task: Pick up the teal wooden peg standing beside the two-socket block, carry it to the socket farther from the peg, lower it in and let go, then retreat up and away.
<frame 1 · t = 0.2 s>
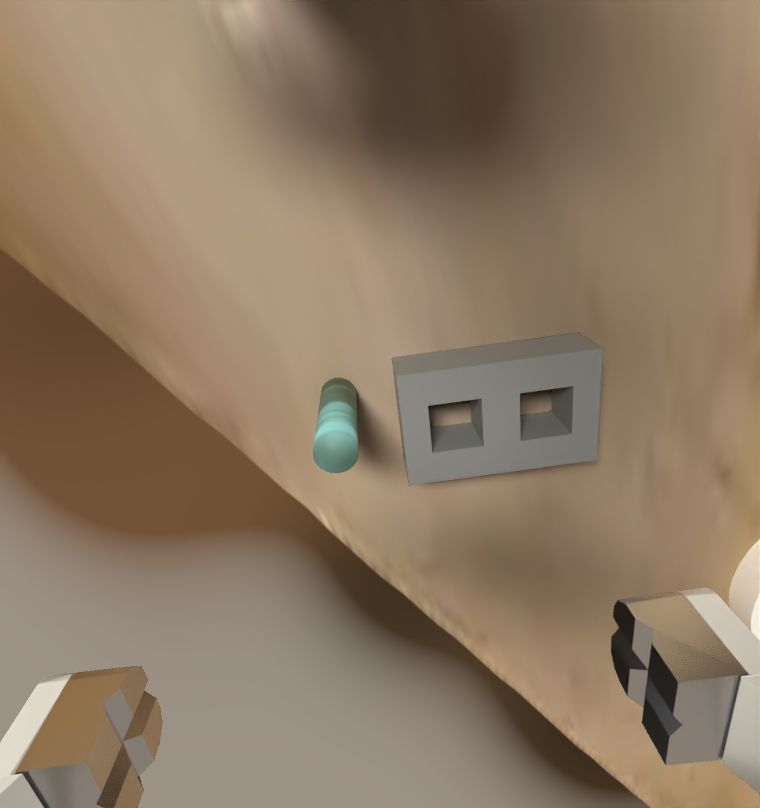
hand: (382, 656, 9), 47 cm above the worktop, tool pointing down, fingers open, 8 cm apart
teal peg: (338, 394, 58), on the worktop
socket block: (487, 398, 59), on the worktop
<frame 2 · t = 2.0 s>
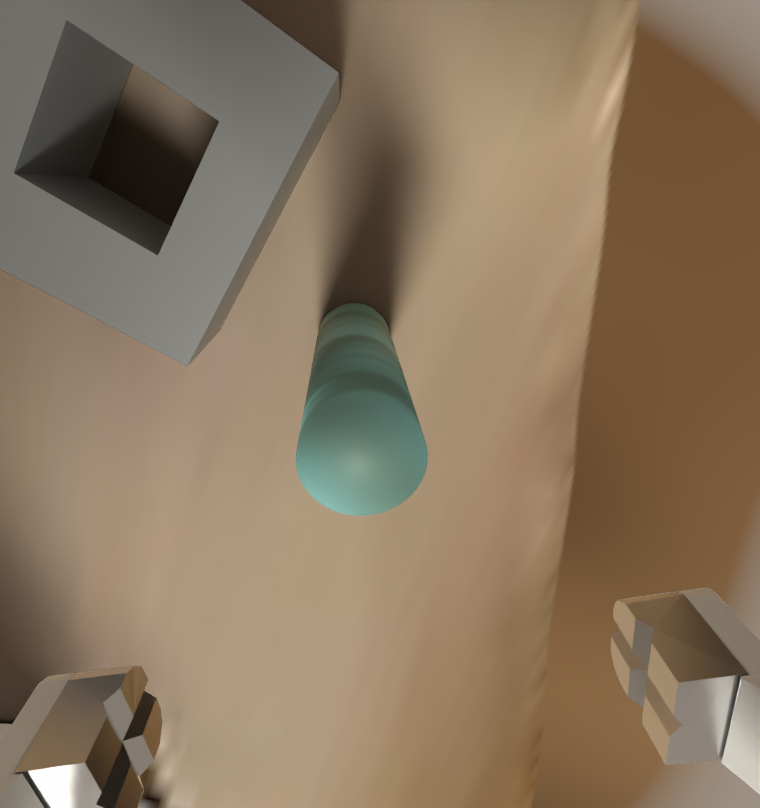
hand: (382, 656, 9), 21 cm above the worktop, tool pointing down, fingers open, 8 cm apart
teal peg: (353, 338, 28), on the worktop
socket block: (67, 94, 23), on the worktop
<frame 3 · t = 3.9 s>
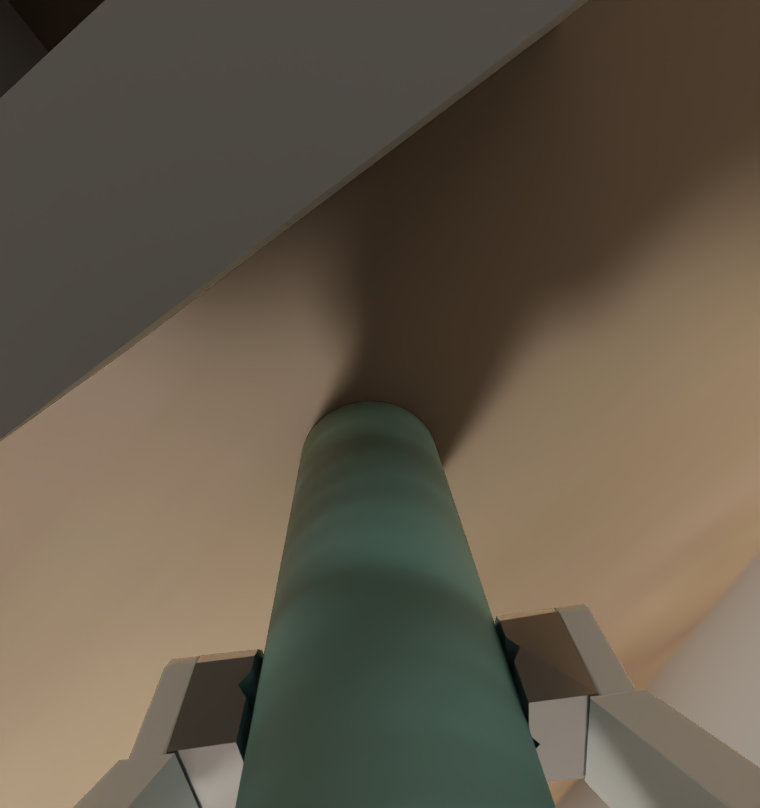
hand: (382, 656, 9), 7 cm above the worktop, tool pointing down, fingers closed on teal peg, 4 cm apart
teal peg: (369, 463, 15), on the worktop, touching gripper
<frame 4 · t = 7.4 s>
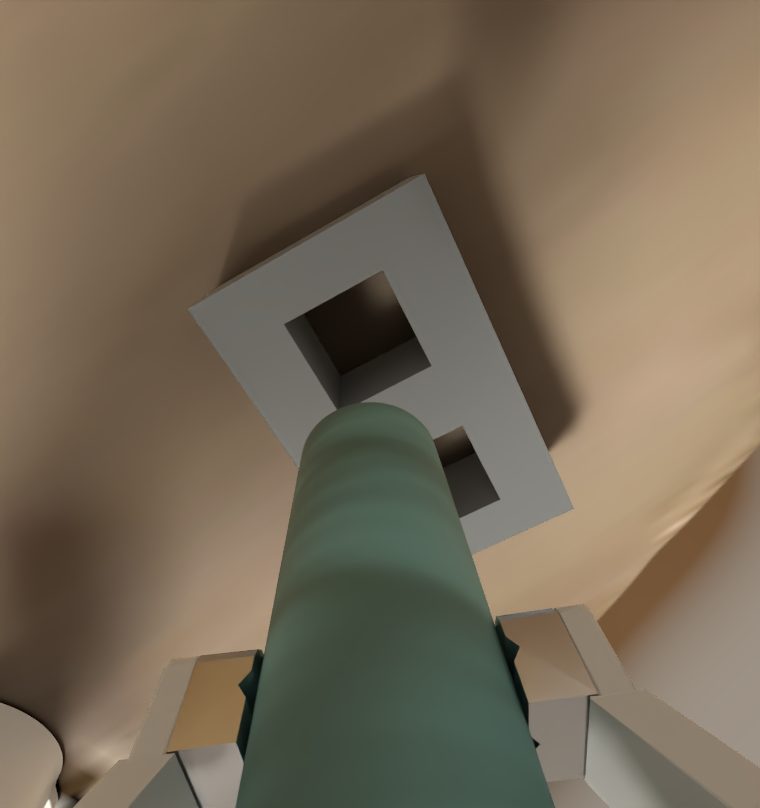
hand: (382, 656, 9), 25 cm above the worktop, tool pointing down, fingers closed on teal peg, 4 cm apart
teal peg: (369, 464, 15), point 18 cm above the worktop, touching gripper
socket block: (392, 381, 33), on the worktop
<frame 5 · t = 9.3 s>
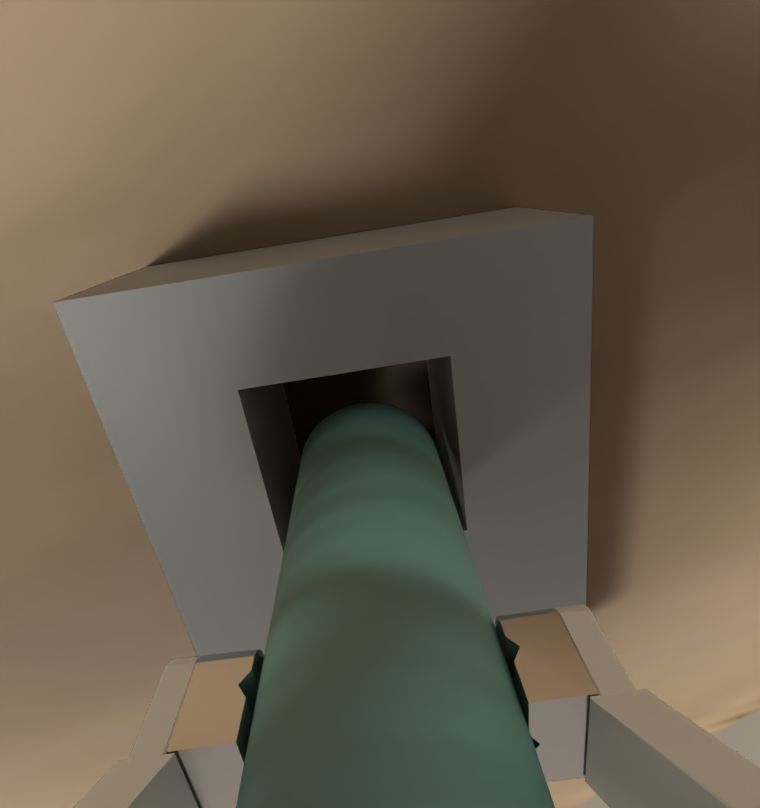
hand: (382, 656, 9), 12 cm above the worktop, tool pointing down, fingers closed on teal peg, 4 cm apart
teal peg: (369, 465, 15), point 6 cm above the worktop, touching gripper
socket block: (376, 491, 22), on the worktop
when the fingers open (9 cm above the worktop, at t = 10.8 s): teal peg drops 2 cm, resting in socket block.
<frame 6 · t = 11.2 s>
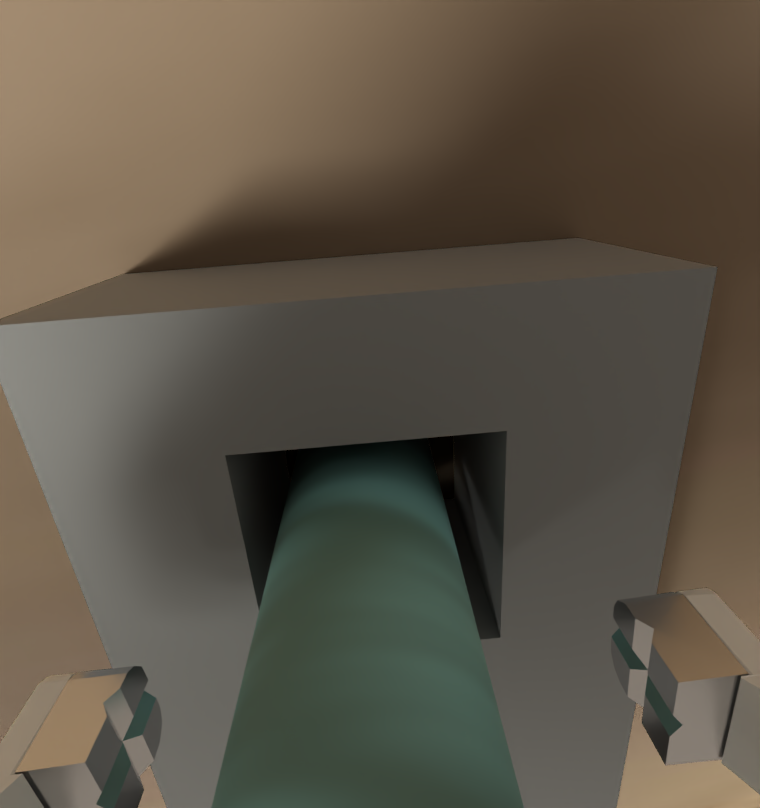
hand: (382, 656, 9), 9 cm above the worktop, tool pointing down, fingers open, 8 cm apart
teal peg: (364, 436, 17), resting in socket block
socket block: (379, 551, 18), on the worktop
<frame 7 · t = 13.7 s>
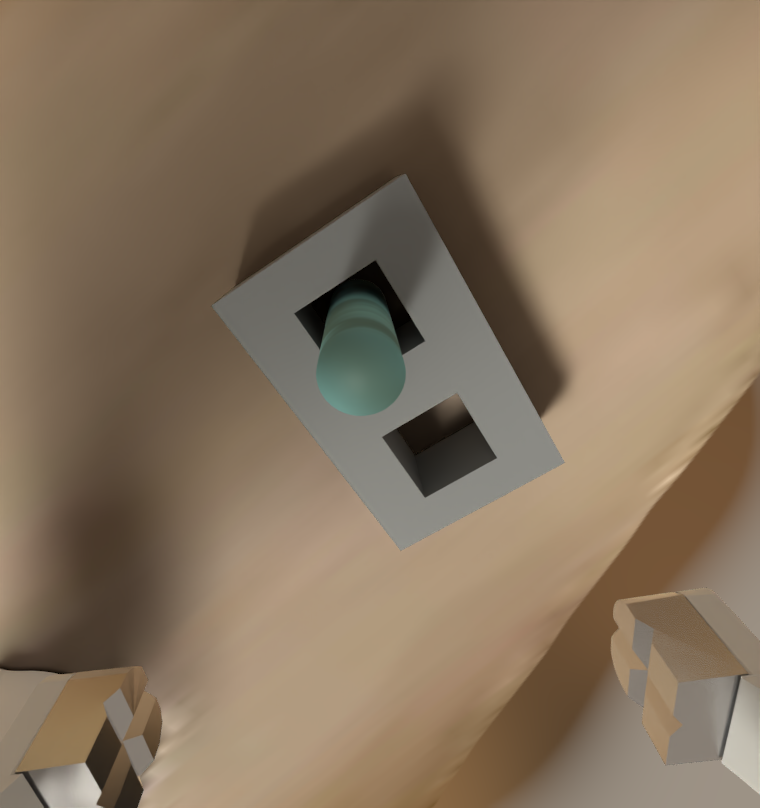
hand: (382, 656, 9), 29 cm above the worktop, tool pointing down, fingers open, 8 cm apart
teal peg: (358, 307, 35), resting in socket block
socket block: (395, 361, 37), on the worktop
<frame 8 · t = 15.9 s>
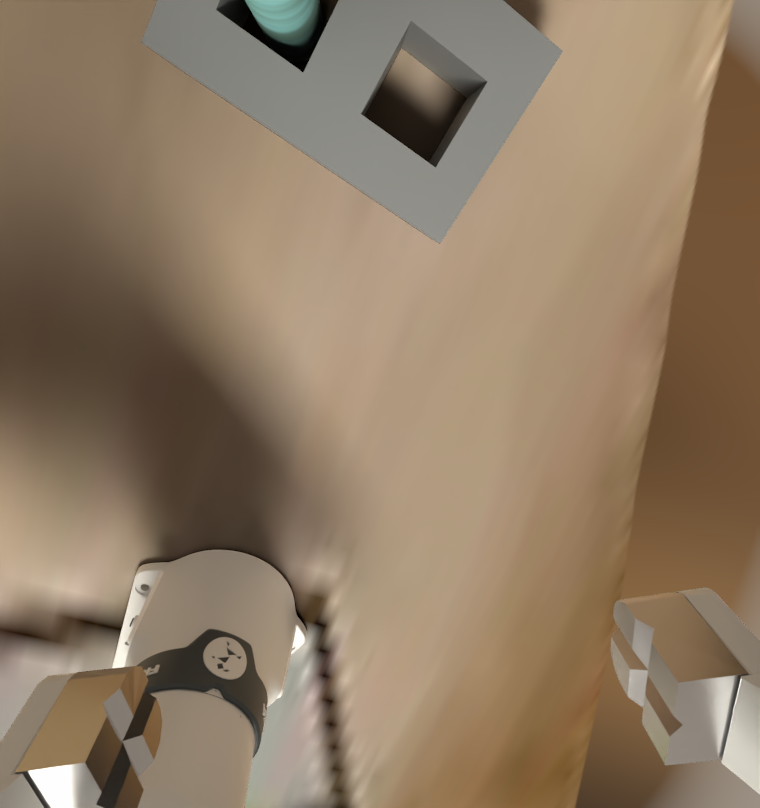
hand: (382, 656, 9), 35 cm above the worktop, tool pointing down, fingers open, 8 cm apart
teal peg: (294, 26, 34), resting in socket block
socket block: (355, 69, 35), on the worktop
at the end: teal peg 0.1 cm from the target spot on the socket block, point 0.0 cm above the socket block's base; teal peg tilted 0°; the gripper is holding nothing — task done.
